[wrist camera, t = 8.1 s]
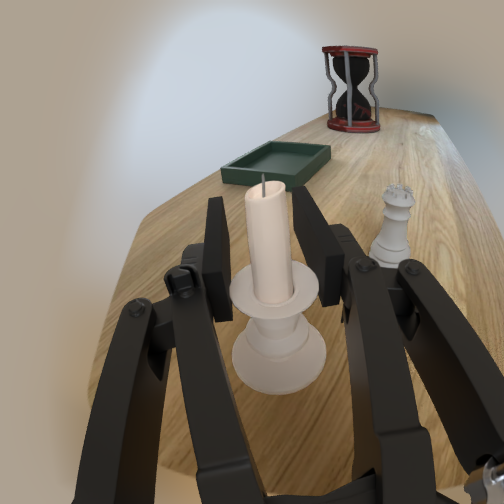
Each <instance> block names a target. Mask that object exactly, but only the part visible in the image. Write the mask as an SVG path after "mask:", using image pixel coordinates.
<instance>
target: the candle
mask: <svg viewBox="0 0 504 504" xmlns="http://www.w3.org/2000/svg"><path fill="white" fill-rule="evenodd" d="M245 210H246V222H247V235H248V244H249V253H250V261H251V264H249V265H247V266H245V267H244V268H242V269H241V270H240V271H239V272H238V273H237V274H236V275H235V276H234V278H233V279H232V281H231V284H230V287H229V289H230V298H231V300H232V302H233V304H234V306H235V307H236V308H237V309H238V310H240V311H241V312H242V313H244V314H246V315H248V316H250V317H251V318H250V320H249V321H248V323H247V325H246V328H245V329H244V330H243V331H242V332H241V333H240V334H239V335H238V337H237V339H236V341H235V343H234V345H233V350H232V362H233V366H234V369H235V371H236V373H237V375H238V377H239V378H240V379H241V380H242V381H243V382H244V383H245V384H246V385H247V386H249V387H251V388H252V389H254V390H255V391H258V392H262V393H265V394H270V395H284V394H289V393H294V392H297V391H299V390H301V389H303V388H305V387H307V386H308V385H310V384H311V383H312V382H313V381H314V380H316V379H317V377H318V376H319V374H320V373H321V371H322V370H323V367H324V364H325V360H326V345H325V342H324V339H323V337H322V335H321V334H320V333H319V331H318V330H317V329H316V328H315V327H314V326H312V325H311V324H310V323H308V321H307V319H306V318H305V317H304V315H303V314H302V312H303V311H305V310H306V309H307V308H309V307H310V306H311V305H312V303H313V302H314V301H315V299H316V297H317V294H318V292H319V282H318V279H317V277H316V275H315V273H314V272H313V271H312V270H311V269H310V268H309V267H307V266H306V265H304V264H303V263H300V262H298V261H295V260H291V246H290V231H289V219H288V210H287V201H286V193H285V184H284V183H283V182H280V181H268V182H265V178H264V173H263V174H262V183H260V184H258V185H255V186H254V187H252V188H251V189H249V190H248V191H247V193H246V194H245Z"/></svg>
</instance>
